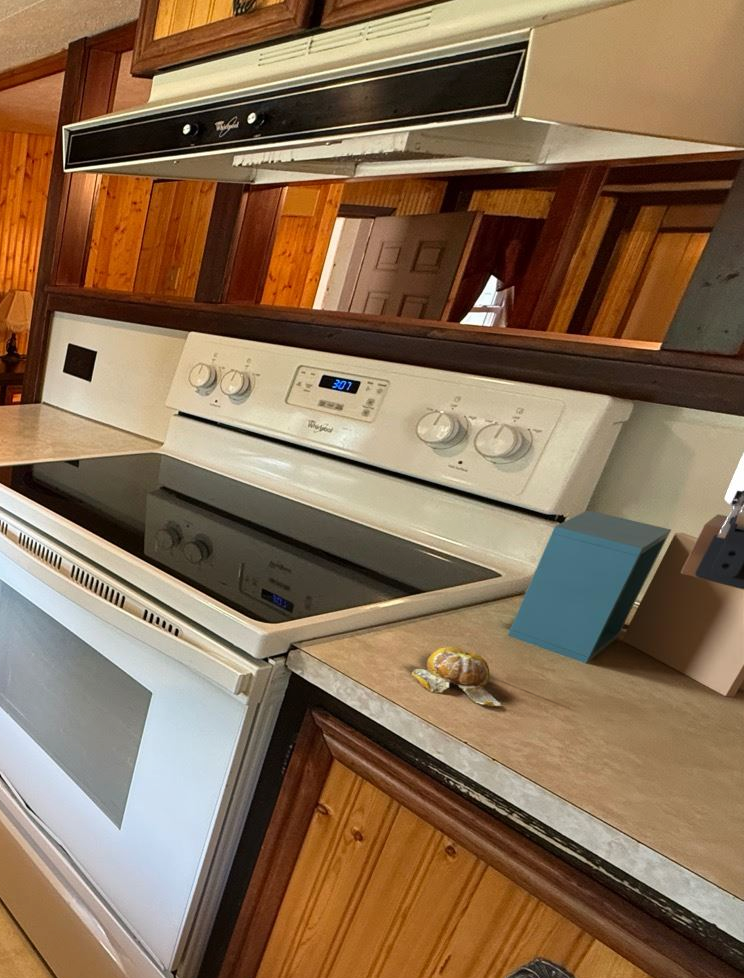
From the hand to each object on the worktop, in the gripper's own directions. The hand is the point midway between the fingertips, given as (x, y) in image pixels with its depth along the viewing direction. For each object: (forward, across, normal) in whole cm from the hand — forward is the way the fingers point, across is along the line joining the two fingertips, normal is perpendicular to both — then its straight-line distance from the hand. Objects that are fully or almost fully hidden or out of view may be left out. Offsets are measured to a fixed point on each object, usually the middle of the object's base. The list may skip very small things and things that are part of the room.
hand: (728, 573), depth 67 cm
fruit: (+21, -1, +15) cm, 26 cm away
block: (0, 0, 0) cm, 0 cm away
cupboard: (+21, +27, +12) cm, 36 cm away
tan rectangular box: (+21, +32, 0) cm, 38 cm away
